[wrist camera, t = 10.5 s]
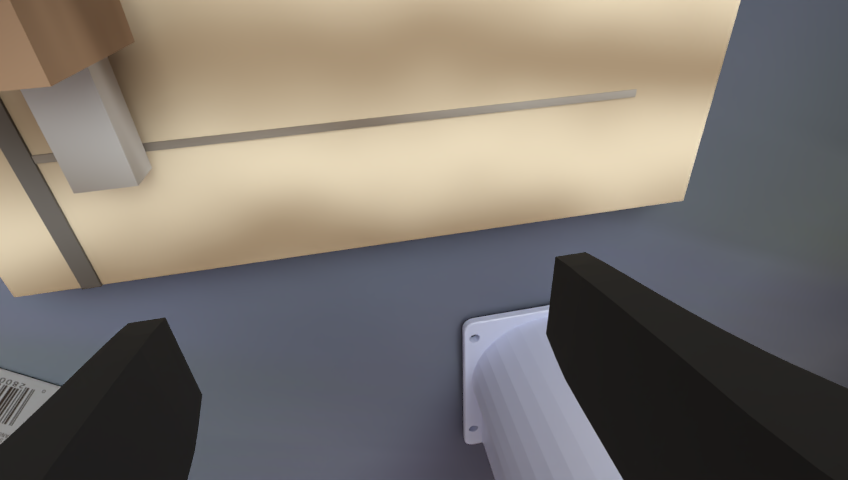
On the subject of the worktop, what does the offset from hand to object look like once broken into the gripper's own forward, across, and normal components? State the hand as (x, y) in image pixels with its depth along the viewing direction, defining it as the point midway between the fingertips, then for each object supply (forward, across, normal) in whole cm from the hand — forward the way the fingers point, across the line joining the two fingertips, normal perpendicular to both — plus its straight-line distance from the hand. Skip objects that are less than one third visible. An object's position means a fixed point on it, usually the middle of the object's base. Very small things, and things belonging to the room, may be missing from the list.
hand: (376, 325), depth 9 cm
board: (+9, 0, -3) cm, 10 cm away
